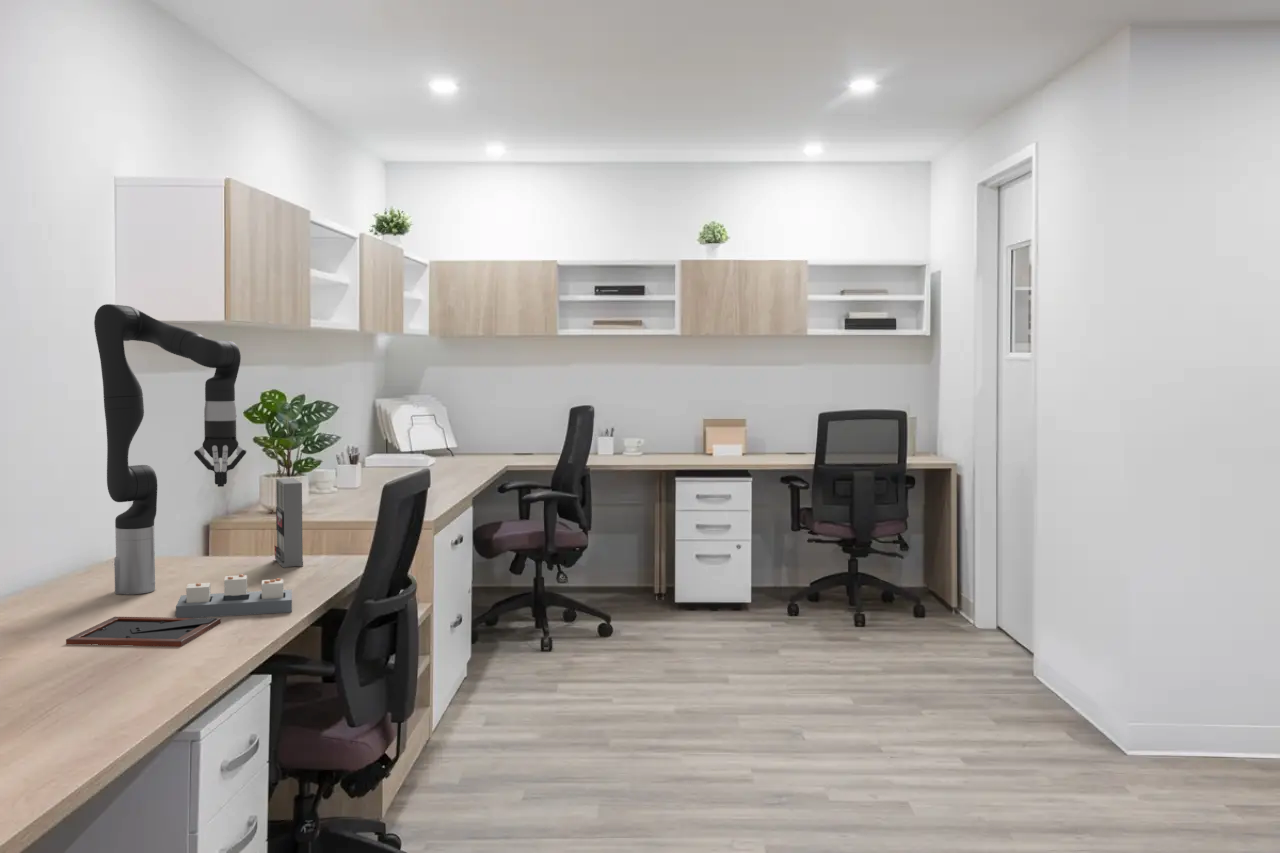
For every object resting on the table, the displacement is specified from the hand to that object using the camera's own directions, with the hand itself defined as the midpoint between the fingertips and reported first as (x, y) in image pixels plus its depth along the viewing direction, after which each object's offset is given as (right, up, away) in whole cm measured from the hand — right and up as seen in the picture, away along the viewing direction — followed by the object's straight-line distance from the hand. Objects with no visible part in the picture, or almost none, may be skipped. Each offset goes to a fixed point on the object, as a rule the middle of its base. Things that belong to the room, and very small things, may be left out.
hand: (221, 486), depth 266 cm
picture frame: (-3, -32, -33) cm, 46 cm away
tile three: (+16, -28, -8) cm, 33 cm away
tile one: (0, -28, -13) cm, 31 cm away
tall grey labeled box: (+1, -26, +49) cm, 55 cm away
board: (+8, -30, -10) cm, 32 cm away
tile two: (+8, -26, -10) cm, 29 cm away
